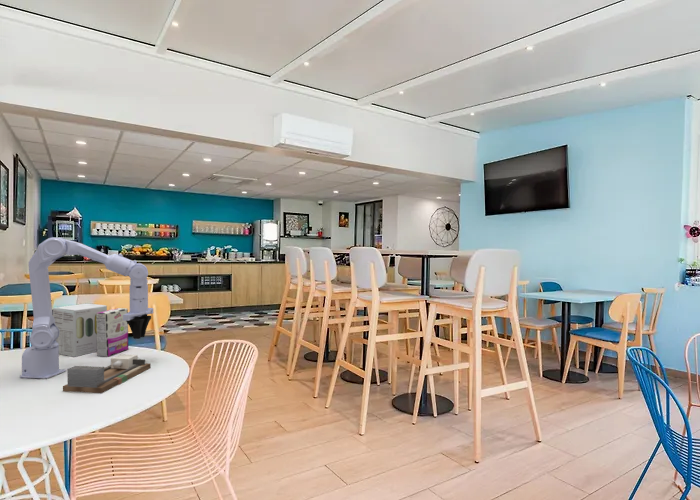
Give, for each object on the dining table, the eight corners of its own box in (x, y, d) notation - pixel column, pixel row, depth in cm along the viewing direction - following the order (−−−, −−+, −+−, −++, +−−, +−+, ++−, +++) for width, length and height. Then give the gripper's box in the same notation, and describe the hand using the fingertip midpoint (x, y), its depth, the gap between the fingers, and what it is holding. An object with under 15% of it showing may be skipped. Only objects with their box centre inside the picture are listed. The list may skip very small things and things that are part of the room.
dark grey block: (67, 386, 121) (67, 368, 121) (75, 382, 124) (75, 365, 124) (96, 387, 120) (96, 370, 120) (104, 384, 123) (104, 367, 123)
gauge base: (62, 391, 122) (62, 383, 122) (117, 366, 145) (117, 360, 145) (102, 393, 120) (102, 385, 120) (151, 367, 144) (151, 361, 144)
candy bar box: (117, 349, 169) (117, 307, 168) (129, 349, 168) (128, 308, 167) (95, 356, 158) (95, 312, 157) (107, 357, 157) (107, 313, 156)
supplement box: (74, 357, 156) (73, 310, 156) (52, 353, 162) (52, 307, 162) (108, 349, 168) (107, 305, 168) (87, 345, 174) (86, 302, 174)
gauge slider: (106, 370, 136) (106, 360, 136) (120, 363, 143) (120, 354, 142) (136, 371, 135) (136, 361, 134) (149, 364, 142) (149, 355, 141)
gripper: (137, 301, 140) (137, 343, 140) (161, 296, 154) (161, 333, 154) (116, 301, 140) (117, 342, 141) (142, 295, 155) (143, 332, 155)
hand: (139, 337), depth 148 cm, fingers closed
